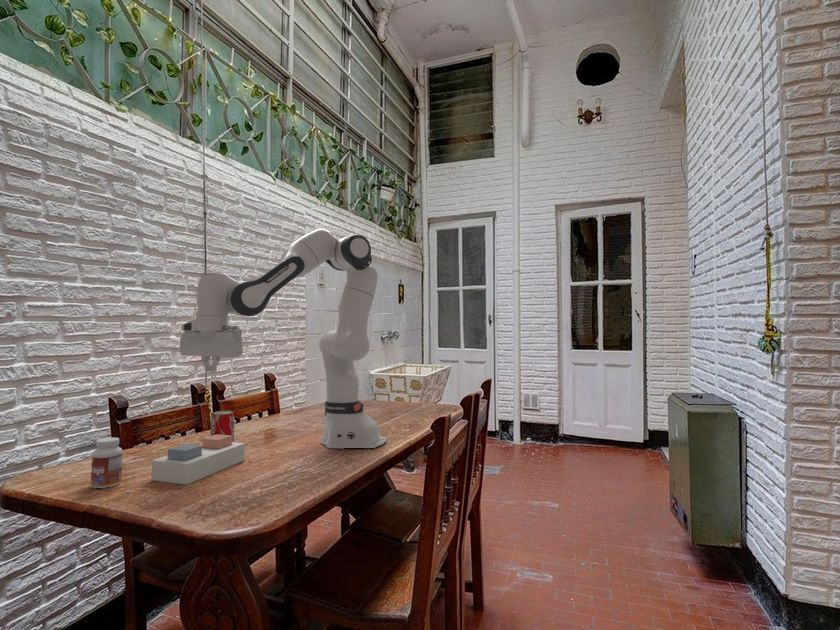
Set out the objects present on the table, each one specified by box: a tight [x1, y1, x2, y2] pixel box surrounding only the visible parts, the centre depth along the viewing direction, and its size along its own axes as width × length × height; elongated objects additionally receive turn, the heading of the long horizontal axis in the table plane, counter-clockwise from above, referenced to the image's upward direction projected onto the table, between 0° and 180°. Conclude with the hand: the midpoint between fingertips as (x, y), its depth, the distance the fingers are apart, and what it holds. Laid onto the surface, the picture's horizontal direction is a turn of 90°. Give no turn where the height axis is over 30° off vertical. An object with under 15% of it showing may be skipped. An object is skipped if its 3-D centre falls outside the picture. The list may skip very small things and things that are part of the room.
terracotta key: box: [201, 434, 232, 449], centre depth 128 cm, size 6×6×4 cm
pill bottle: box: [90, 437, 123, 489], centre depth 110 cm, size 6×6×11 cm
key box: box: [150, 441, 246, 485], centre depth 123 cm, size 11×22×5 cm, turn 164°
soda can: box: [209, 410, 235, 442], centre depth 143 cm, size 7×7×12 cm
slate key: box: [167, 443, 202, 461], centre depth 117 cm, size 6×6×4 cm
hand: (210, 371), depth 134 cm, fingers closed
